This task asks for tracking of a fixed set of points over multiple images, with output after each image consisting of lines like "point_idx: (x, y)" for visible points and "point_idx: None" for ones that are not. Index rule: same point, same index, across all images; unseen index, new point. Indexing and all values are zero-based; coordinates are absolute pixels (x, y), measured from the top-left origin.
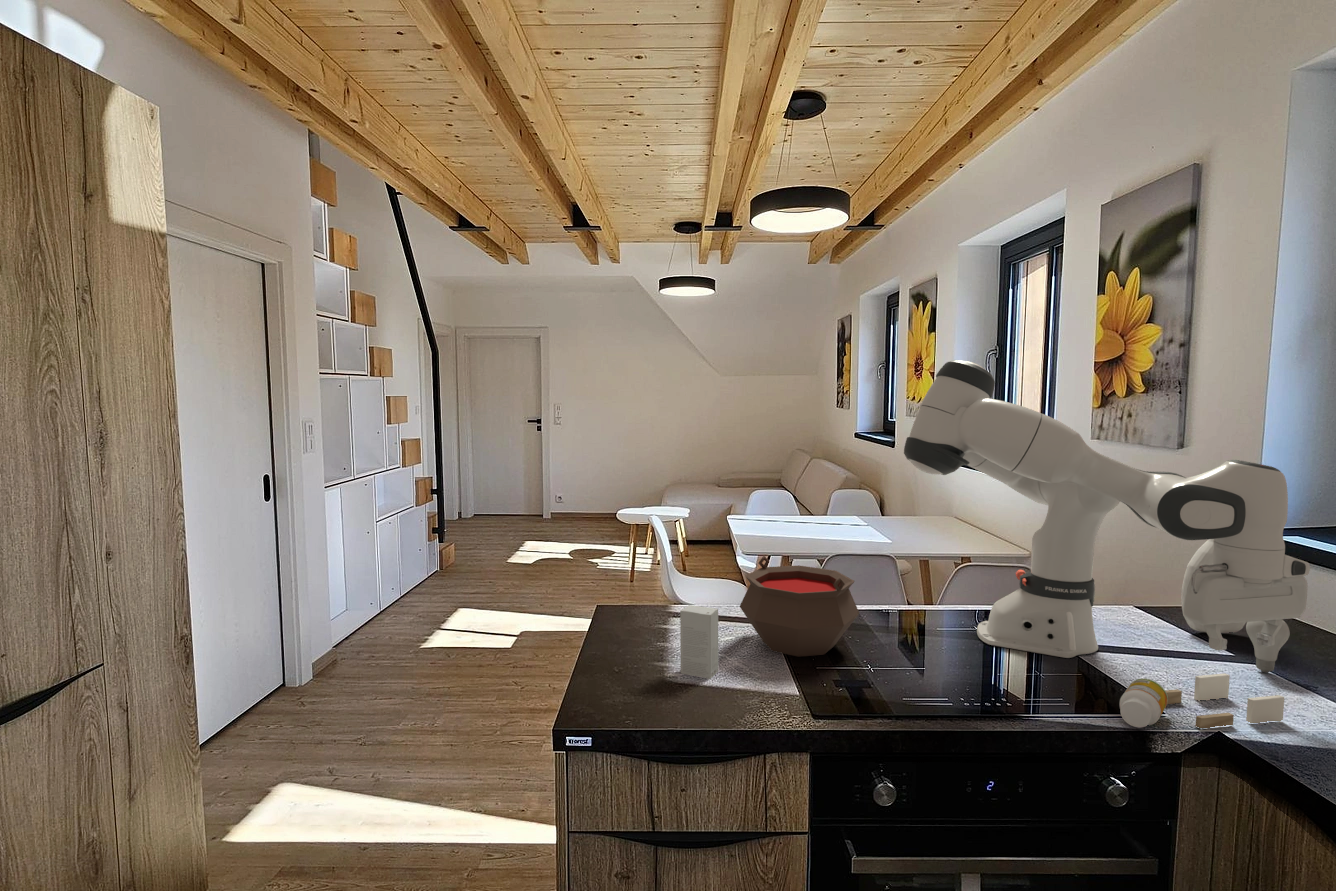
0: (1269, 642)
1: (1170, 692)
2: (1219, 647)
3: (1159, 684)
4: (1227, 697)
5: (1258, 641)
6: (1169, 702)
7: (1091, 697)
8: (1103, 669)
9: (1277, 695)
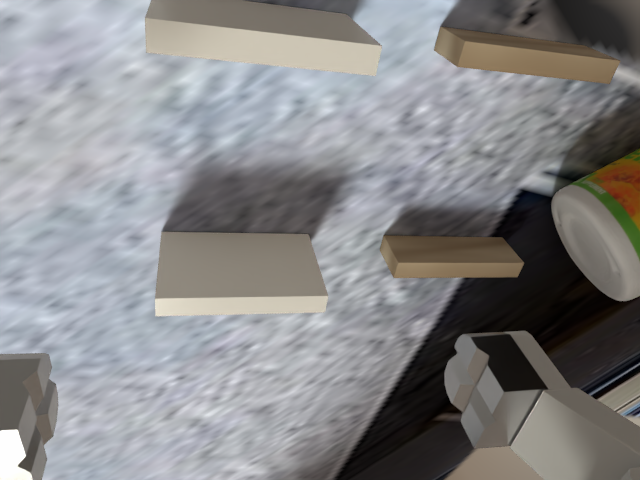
0: (6, 375)
1: (446, 262)
2: (534, 343)
3: (627, 250)
4: (164, 234)
5: (52, 412)
6: (433, 239)
7: (579, 308)
8: (347, 435)
9: (165, 50)
